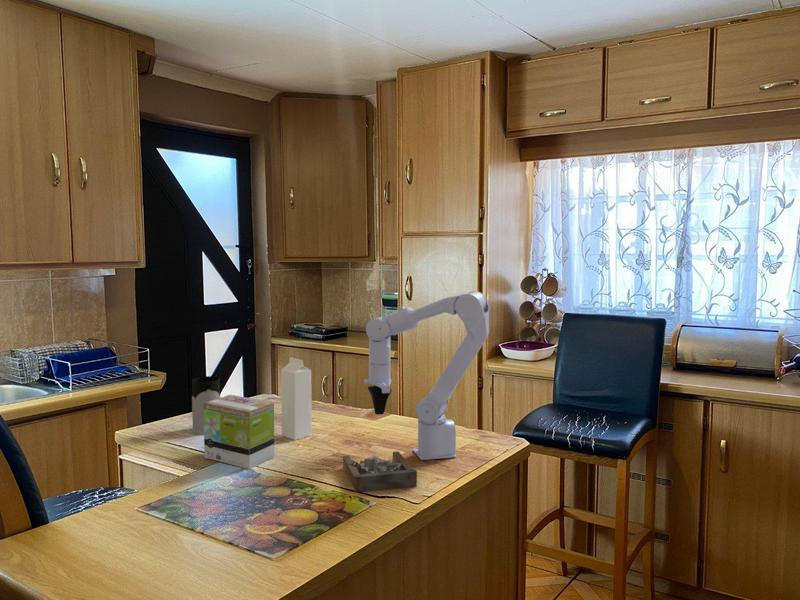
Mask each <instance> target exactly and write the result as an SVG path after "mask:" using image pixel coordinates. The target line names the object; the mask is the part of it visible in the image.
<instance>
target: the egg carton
mask: <svg viewBox="0 0 800 600" xmlns="http://www.w3.org/2000/svg"><path fill="white" fill-rule="evenodd" d="M351 460H352V461H351V462H353V463H354V465H355V467H356V468H357V470H358V472H359V474H369V473H380V472H391V471H399V468H400V466H401V464H402V463H394V462H393V461H391V460H386V459H381V458H380V457H378V456H374V455H373V456H369V457H368V458H366V457H365V458H364V459H361V460H360V461H356V460H354V459H351ZM372 469H373V470H372Z"/></svg>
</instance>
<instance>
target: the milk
mask: <svg viewBox="0 0 800 600" xmlns="http://www.w3.org/2000/svg"><path fill="white" fill-rule="evenodd" d="M280 374H281V381H280V382H281V383H280V384H281V385H280V387H281V436H282V437H284V436H285V438H287V439H290V440H293V441H297V439H298V440H301V439H305V438H308V437H311V436H313V435H312V369H310V368H308V367H306V366H305V365H304V360H303V359H299V358H295V357H289V363H287V364H286V365H285V366H284V367H283V368H282V369H281V373H280ZM310 435H311V436H310ZM307 436H308V437H307ZM304 437H305V438H304Z"/></svg>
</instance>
